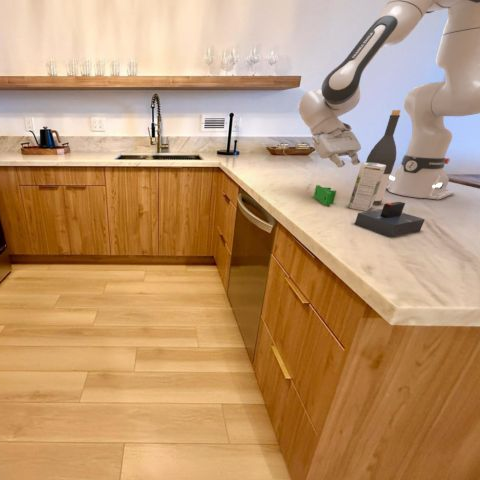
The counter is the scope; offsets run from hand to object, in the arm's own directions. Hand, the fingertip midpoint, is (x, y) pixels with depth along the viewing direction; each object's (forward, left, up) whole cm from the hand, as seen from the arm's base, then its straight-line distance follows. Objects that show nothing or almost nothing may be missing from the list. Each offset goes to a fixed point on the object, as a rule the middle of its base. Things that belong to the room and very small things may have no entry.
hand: (349, 165), depth 96 cm
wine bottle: (-10, +3, -13) cm, 17 cm away
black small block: (+9, +22, -10) cm, 25 cm away
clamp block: (+9, +22, -13) cm, 27 cm away
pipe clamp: (+4, -3, -13) cm, 14 cm away
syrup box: (-1, +7, -13) cm, 15 cm away
